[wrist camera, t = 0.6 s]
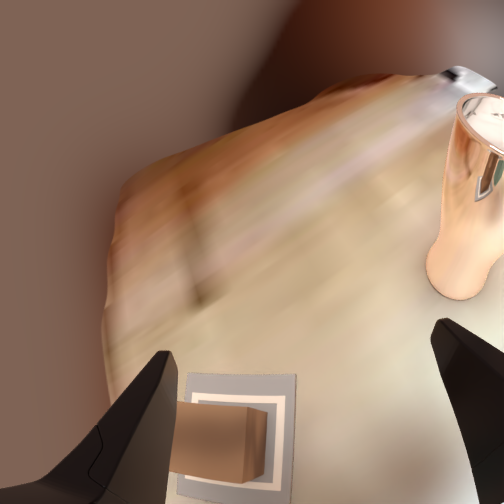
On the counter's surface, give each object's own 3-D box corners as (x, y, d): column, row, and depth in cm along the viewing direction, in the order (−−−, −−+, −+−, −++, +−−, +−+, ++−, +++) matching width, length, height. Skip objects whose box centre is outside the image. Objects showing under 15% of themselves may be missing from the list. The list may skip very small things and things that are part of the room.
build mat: (289, 509, 16) (288, 511, 15) (179, 493, 18) (175, 494, 18) (296, 374, 22) (295, 373, 21) (189, 373, 24) (187, 372, 24)
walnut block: (264, 474, 18) (242, 483, 14) (201, 466, 19) (167, 470, 15) (267, 412, 20) (247, 406, 16) (205, 408, 22) (174, 400, 18)
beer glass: (501, 285, 20) (578, 154, 8) (443, 319, 20) (518, 183, 8) (464, 226, 24) (501, 86, 12) (407, 251, 25) (428, 98, 13)
